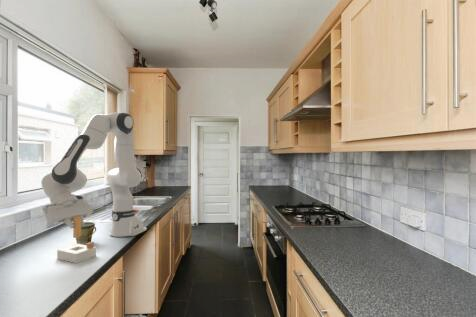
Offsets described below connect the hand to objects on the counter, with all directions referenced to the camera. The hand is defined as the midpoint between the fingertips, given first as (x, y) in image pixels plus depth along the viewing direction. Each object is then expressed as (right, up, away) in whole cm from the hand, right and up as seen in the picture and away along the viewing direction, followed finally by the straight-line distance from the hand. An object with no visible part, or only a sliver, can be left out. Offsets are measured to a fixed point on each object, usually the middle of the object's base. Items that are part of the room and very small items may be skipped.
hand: (78, 226), depth 126 cm
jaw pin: (-1, -5, 0) cm, 5 cm away
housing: (-1, -14, 0) cm, 14 cm away
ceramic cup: (-8, -14, +21) cm, 26 cm away
